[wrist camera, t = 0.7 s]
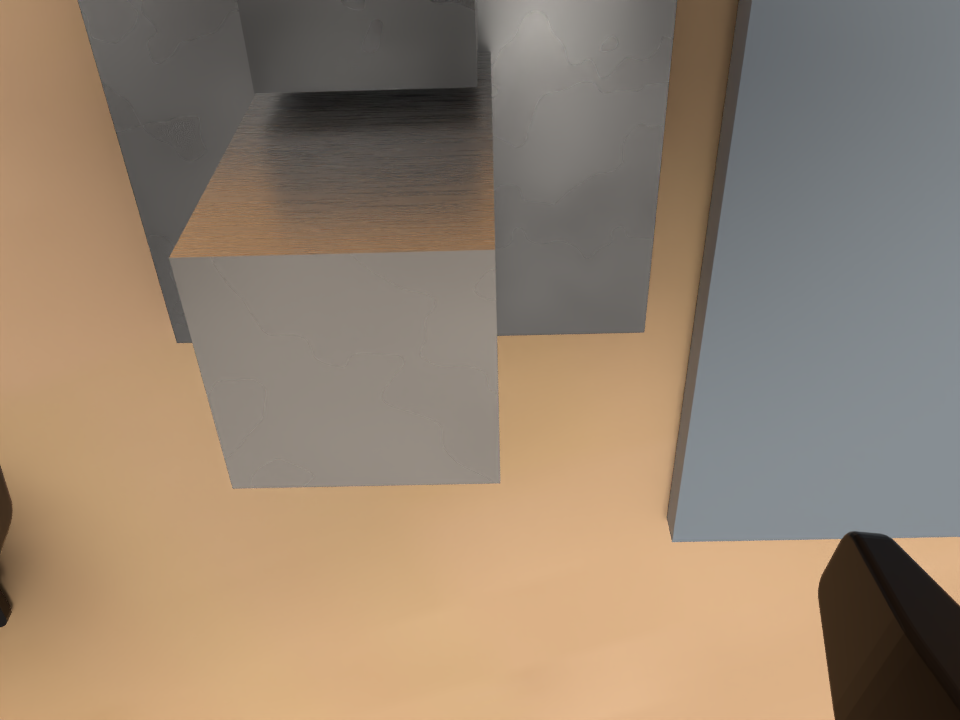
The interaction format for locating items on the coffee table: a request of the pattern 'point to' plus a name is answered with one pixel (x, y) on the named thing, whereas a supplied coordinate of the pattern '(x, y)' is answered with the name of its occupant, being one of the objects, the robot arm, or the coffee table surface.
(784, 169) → the slate board
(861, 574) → the robot arm
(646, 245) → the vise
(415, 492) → the coffee table surface
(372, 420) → the steel bar
